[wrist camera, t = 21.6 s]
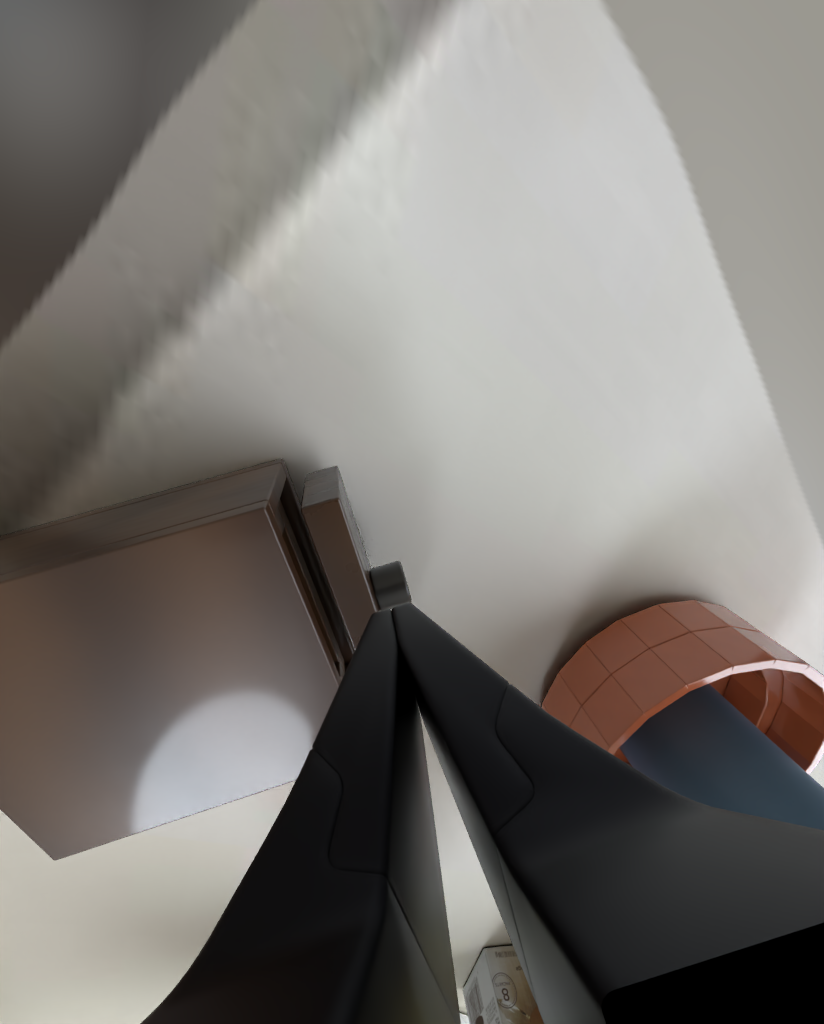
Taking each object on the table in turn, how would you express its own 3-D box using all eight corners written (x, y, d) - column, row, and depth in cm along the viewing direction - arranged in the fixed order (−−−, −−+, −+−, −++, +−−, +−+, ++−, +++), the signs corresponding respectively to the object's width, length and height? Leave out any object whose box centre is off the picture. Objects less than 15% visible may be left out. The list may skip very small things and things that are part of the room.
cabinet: (282, 457, 16) (264, 507, 11) (359, 660, 20) (368, 756, 15) (-30, 543, 15) (-187, 635, 10) (119, 736, 19) (53, 862, 15)
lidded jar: (663, 739, 26) (879, 999, 16) (583, 733, 24) (766, 1017, 14) (712, 663, 24) (994, 902, 14) (629, 651, 22) (878, 911, 12)
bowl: (741, 721, 27) (823, 798, 23) (555, 798, 27) (601, 892, 22) (744, 558, 22) (854, 616, 17) (512, 650, 21) (561, 735, 17)
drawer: (369, 456, 15) (379, 485, 12) (422, 642, 19) (440, 701, 16) (47, 545, 15) (-28, 602, 12) (168, 723, 18) (136, 801, 15)
